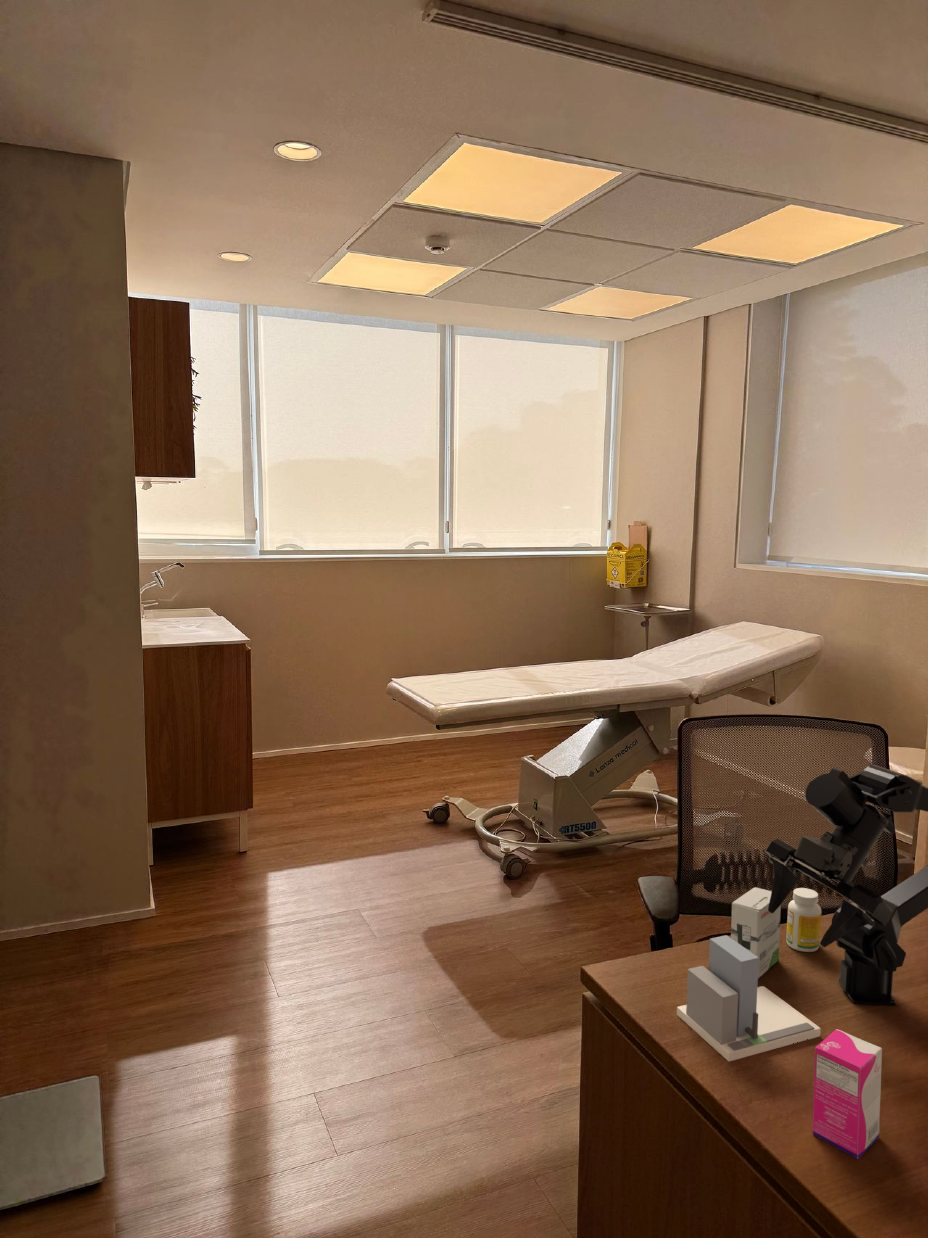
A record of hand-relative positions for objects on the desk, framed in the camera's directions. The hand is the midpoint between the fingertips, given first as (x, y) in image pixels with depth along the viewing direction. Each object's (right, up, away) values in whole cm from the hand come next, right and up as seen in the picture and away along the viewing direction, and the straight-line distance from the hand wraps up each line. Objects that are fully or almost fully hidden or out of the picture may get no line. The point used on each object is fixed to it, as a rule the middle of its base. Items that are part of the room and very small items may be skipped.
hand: (795, 928), depth 128 cm
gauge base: (-8, -14, -1) cm, 16 cm away
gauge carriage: (-10, -12, -3) cm, 16 cm away
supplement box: (-3, -17, -24) cm, 29 cm away
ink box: (-1, -12, +16) cm, 20 cm away
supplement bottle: (+10, -11, +22) cm, 27 cm away
